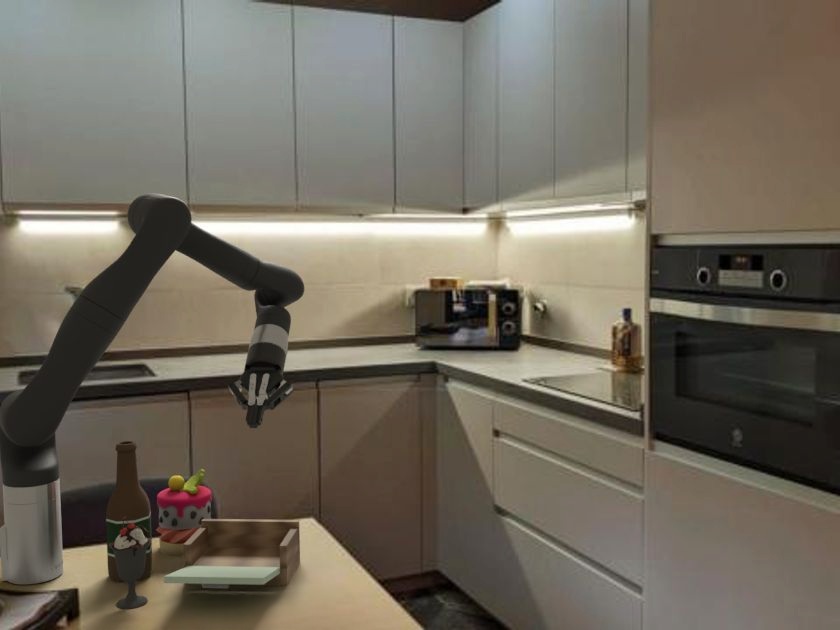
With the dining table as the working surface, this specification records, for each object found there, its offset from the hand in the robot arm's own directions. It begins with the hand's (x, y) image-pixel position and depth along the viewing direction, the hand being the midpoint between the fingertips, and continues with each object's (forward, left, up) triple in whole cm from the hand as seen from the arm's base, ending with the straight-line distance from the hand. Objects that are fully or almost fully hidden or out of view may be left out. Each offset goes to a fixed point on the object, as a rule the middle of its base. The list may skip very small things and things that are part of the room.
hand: (253, 425), depth 163 cm
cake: (-15, +5, -25) cm, 30 cm away
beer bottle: (-20, -10, -25) cm, 34 cm away
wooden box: (0, -8, -25) cm, 26 cm away
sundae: (-15, -22, -25) cm, 37 cm away
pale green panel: (0, -14, -22) cm, 26 cm away
